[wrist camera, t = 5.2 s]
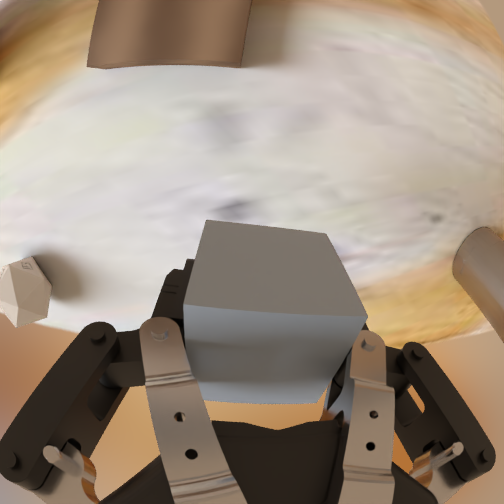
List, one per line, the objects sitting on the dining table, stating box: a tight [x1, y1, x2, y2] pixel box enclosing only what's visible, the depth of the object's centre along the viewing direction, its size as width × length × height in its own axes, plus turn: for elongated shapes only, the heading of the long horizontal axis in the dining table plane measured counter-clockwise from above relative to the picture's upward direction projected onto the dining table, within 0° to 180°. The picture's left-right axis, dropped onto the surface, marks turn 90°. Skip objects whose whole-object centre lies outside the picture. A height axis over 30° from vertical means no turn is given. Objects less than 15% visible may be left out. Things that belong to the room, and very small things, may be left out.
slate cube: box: [183, 220, 368, 404], centre depth 10 cm, size 5×5×5 cm
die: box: [0, 256, 52, 328], centre depth 25 cm, size 8×9×10 cm
